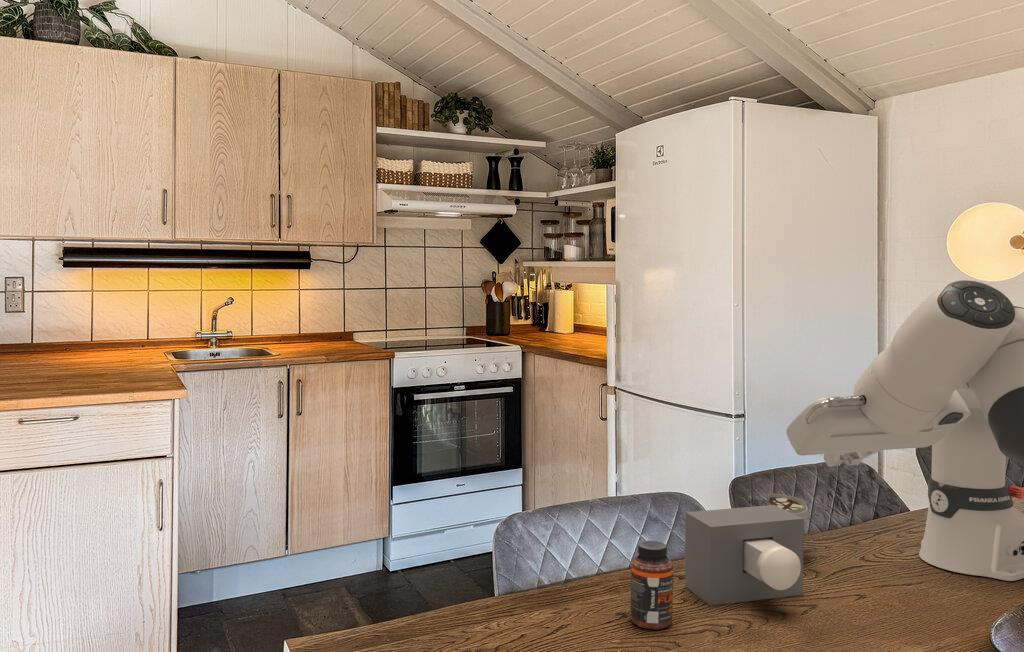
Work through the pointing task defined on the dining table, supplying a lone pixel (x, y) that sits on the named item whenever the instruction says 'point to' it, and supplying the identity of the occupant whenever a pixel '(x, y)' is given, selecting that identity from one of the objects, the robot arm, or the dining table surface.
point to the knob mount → (736, 552)
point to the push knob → (771, 563)
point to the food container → (789, 504)
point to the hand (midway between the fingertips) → (839, 461)
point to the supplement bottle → (652, 586)
